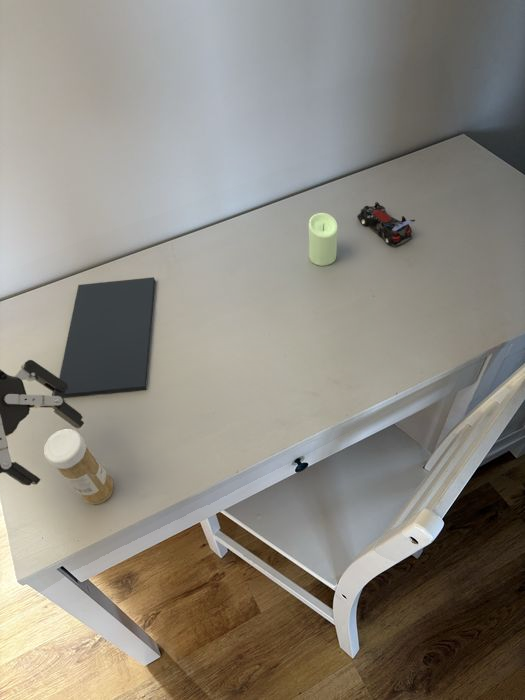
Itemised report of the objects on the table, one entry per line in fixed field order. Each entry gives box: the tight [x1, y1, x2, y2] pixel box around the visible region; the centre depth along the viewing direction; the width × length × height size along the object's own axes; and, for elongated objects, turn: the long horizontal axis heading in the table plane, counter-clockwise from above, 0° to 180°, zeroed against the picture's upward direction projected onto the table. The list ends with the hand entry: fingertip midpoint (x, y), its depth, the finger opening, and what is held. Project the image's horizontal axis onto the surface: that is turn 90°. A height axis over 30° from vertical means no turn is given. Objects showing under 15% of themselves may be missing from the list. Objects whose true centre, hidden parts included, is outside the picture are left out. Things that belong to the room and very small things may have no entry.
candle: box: [308, 212, 339, 267], centre depth 96 cm, size 5×5×8 cm
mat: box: [58, 276, 156, 398], centre depth 91 cm, size 24×14×1 cm, turn 4°
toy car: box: [356, 201, 416, 248], centre depth 101 cm, size 6×12×4 cm, turn 33°
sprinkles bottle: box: [43, 428, 114, 505], centre depth 69 cm, size 5×5×13 cm
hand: (59, 453), depth 67 cm, fingers open, 8 cm apart
